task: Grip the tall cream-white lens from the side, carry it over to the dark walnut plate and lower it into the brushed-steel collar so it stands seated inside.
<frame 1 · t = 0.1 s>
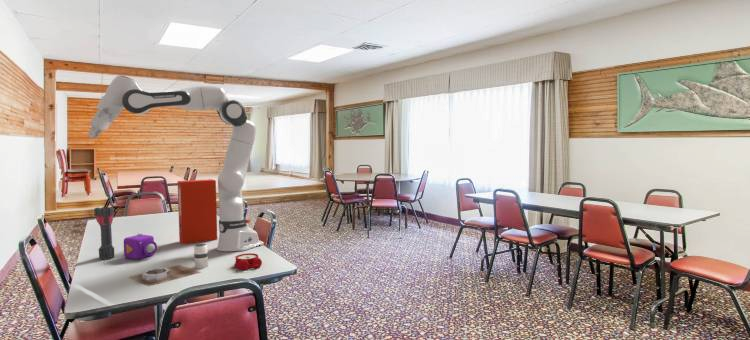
hand: (92, 137, 180), 54 cm above the table, tool tilted 30°, fingers open, 8 cm apart
flashlight: (106, 257, 190), on the table
alarm clock: (248, 267, 175), on the table
file binder: (198, 240, 223), on the table
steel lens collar: (156, 278, 157), resting on walnut mount plate
walnut mount plate: (165, 277, 161), on the table
toy camera: (142, 257, 190), on the table
white lens: (201, 269, 172), on the table
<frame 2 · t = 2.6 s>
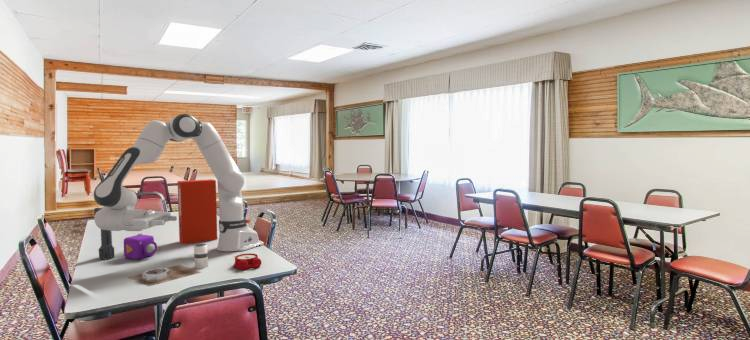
hand: (170, 220, 171), 20 cm above the table, tool horizontal, fingers open, 8 cm apart
nothing on the table moved.
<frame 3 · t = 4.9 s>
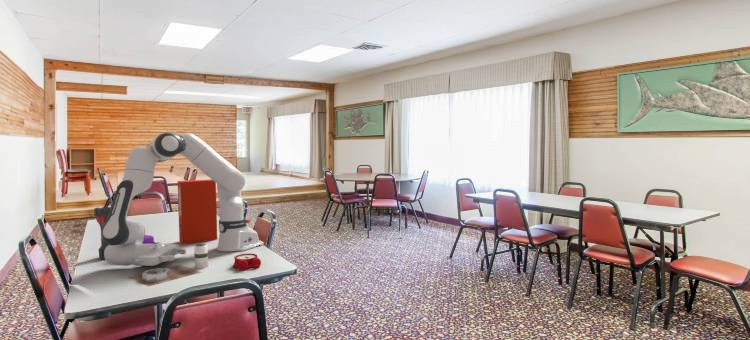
hand: (179, 254, 172), 6 cm above the table, tool horizontal, fingers open, 8 cm apart
nothing on the table moved.
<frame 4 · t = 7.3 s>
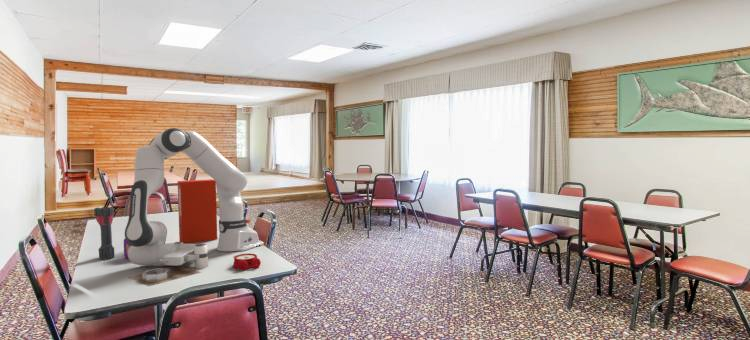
hand: (203, 254, 171), 6 cm above the table, tool horizontal, fingers closed on white lens, 5 cm apart
white lens: (201, 269, 172), on the table, touching gripper
everything else where it was.
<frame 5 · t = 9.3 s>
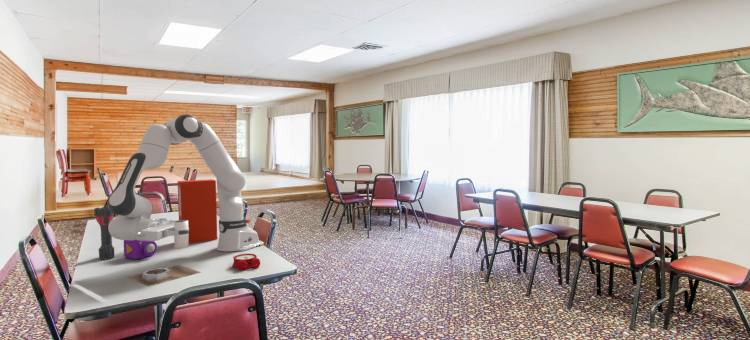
hand: (183, 231, 164), 17 cm above the table, tool horizontal, fingers closed on white lens, 5 cm apart
white lens: (181, 246, 164), point 11 cm above the table, touching gripper
everything else where it was.
when the fingers open (8 cm above the table, at t = 11.8 s): white lens stays where it is, resting on walnut mount plate.
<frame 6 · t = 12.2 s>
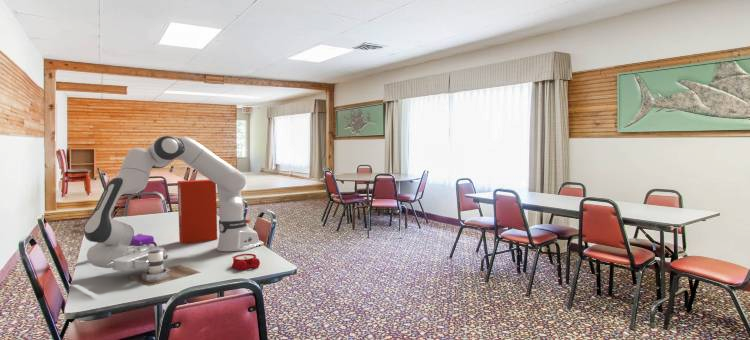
hand: (157, 259, 157), 8 cm above the table, tool horizontal, fingers open, 8 cm apart
white lens: (156, 278, 157), point 1 cm above the table, touching walnut mount plate
everything else where it was.
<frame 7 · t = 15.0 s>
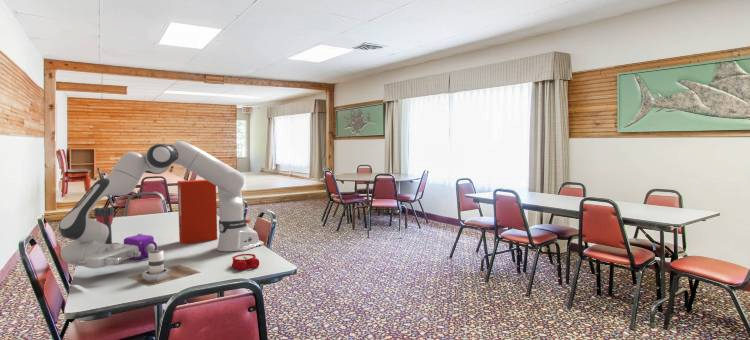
hand: (129, 257, 159), 8 cm above the table, tool horizontal, fingers open, 8 cm apart
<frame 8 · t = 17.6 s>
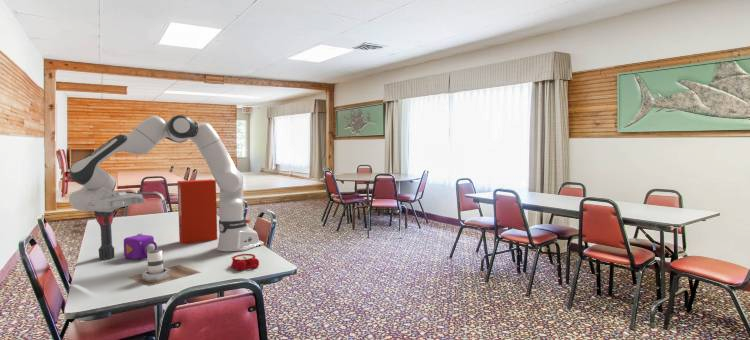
hand: (134, 202, 168), 28 cm above the table, tool horizontal, fingers open, 8 cm apart
at the end: white lens 0.0 cm off-centre on the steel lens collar, point 0.1 cm above the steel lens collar's base; white lens tilted 2°; the gripper is holding nothing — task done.
